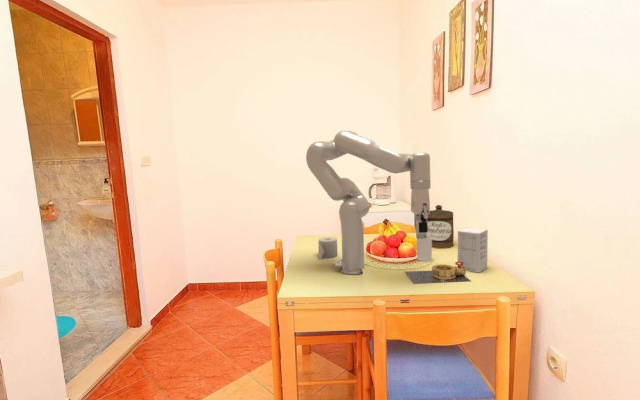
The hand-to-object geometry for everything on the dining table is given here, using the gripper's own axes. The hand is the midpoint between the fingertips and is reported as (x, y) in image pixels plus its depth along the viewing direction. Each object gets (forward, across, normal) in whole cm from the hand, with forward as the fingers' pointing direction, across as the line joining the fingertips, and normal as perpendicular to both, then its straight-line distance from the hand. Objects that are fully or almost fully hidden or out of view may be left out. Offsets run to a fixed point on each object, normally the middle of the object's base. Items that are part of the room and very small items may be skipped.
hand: (421, 230), depth 138 cm
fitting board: (+20, +2, +5) cm, 20 cm away
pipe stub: (+3, 0, 0) cm, 3 cm away
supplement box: (+20, -10, +25) cm, 34 cm away
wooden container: (+20, -50, +24) cm, 59 cm away
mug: (+20, -22, +8) cm, 31 cm away
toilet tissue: (+19, -37, -37) cm, 56 cm away
